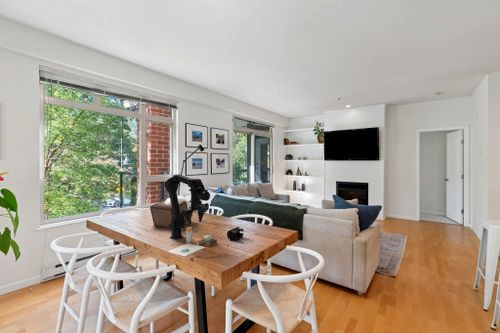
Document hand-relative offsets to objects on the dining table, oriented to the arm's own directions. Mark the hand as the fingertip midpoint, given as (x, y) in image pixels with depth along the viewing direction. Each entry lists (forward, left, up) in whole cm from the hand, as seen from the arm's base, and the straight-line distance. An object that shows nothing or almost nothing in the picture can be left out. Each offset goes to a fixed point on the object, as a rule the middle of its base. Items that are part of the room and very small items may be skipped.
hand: (195, 223), depth 148 cm
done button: (+8, +3, -11) cm, 13 cm away
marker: (-4, -1, -12) cm, 13 cm away
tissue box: (-47, +25, -13) cm, 55 cm away
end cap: (+17, +20, -13) cm, 29 cm away
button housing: (+8, +3, -12) cm, 15 cm away
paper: (+4, -11, -12) cm, 17 cm away
